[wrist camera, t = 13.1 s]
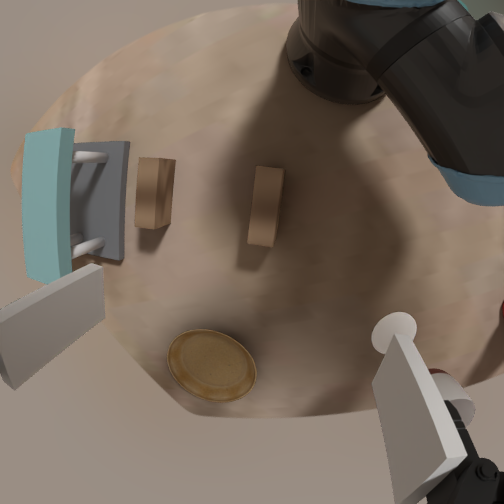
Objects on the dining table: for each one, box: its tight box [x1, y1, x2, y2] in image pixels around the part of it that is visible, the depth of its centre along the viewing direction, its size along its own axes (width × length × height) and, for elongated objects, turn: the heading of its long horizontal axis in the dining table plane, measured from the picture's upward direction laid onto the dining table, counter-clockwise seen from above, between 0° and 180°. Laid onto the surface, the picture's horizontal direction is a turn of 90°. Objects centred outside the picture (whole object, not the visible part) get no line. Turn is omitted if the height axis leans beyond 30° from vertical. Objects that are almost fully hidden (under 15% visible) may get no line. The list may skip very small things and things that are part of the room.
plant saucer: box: [167, 329, 257, 403], centre depth 44 cm, size 15×15×3 cm
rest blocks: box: [135, 157, 285, 247], centre depth 36 cm, size 9×18×5 cm, turn 83°
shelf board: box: [22, 128, 75, 284], centre depth 30 cm, size 20×8×2 cm, turn 173°
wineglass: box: [371, 312, 475, 428], centre depth 29 cm, size 8×9×20 cm
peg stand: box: [70, 141, 130, 260], centre depth 36 cm, size 18×12×10 cm, turn 173°
